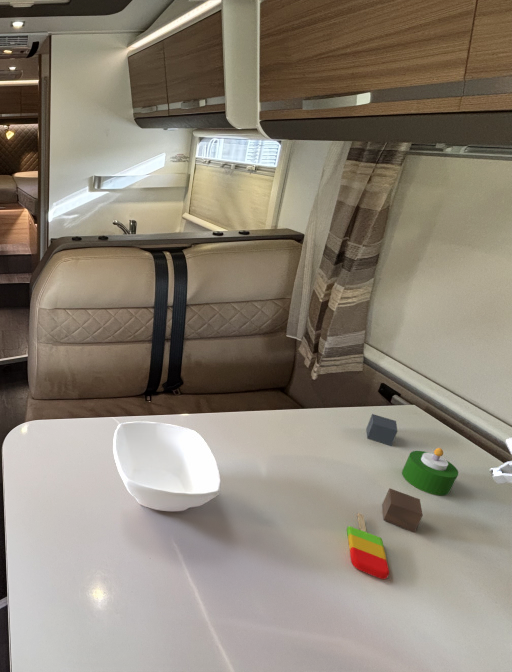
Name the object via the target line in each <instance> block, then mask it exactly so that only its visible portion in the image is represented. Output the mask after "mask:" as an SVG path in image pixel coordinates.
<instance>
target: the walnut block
mask: <svg viewBox="0 0 512 672" xmlns="http://www.w3.org/2000/svg"><path fill="white" fill-rule="evenodd" d="M381 506H382V518H383V521H385V522H387V523H389V524H392V525H394V526H397V527H399V528H402V529H404V530H407V531H409V532H412V533H415V532H416V531H417V528H418V527H419V524H420V522H421V520H422V518H423V517H424V515H423V509H422V503H421V499H420V498H418V497H415V496H413V495H410V494H408V493H407V494H406V493H404V492H401V491H398V490H396V489H393V488H388V490H387V492H386V495H385V497H384V499H383V502H382V504H381Z"/></svg>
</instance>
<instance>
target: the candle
mask: <svg viewBox="0 0 512 672" xmlns="http://www.w3.org/2000/svg"><path fill="white" fill-rule="evenodd" d="M442 456H444V450H443V448H441V447H436V448H435V449H434V451H433V453H432V452H428V451H423V450H413V451H411V452H410V453H409V454H408V457H407V459H406V461H405V464H404V466H403V468H402V471H401V475H402V477H403V478H404V480H405V481H407V483H408V484H409V485H411V486H413V487H415V488H416V489H418V490H420V491H422V492H424V493H426V494H430V495H434V496H441V497H443V496H447V495H449V493H450V492H451V490H452V488H453V486H454V484H455V481H456V480H457V478H458V476H459V470H458V469H457V467H456V466H455V465H454V464H453V463H451V462H450V461H449V460H447V459H446V458H444V457H442Z"/></svg>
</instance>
